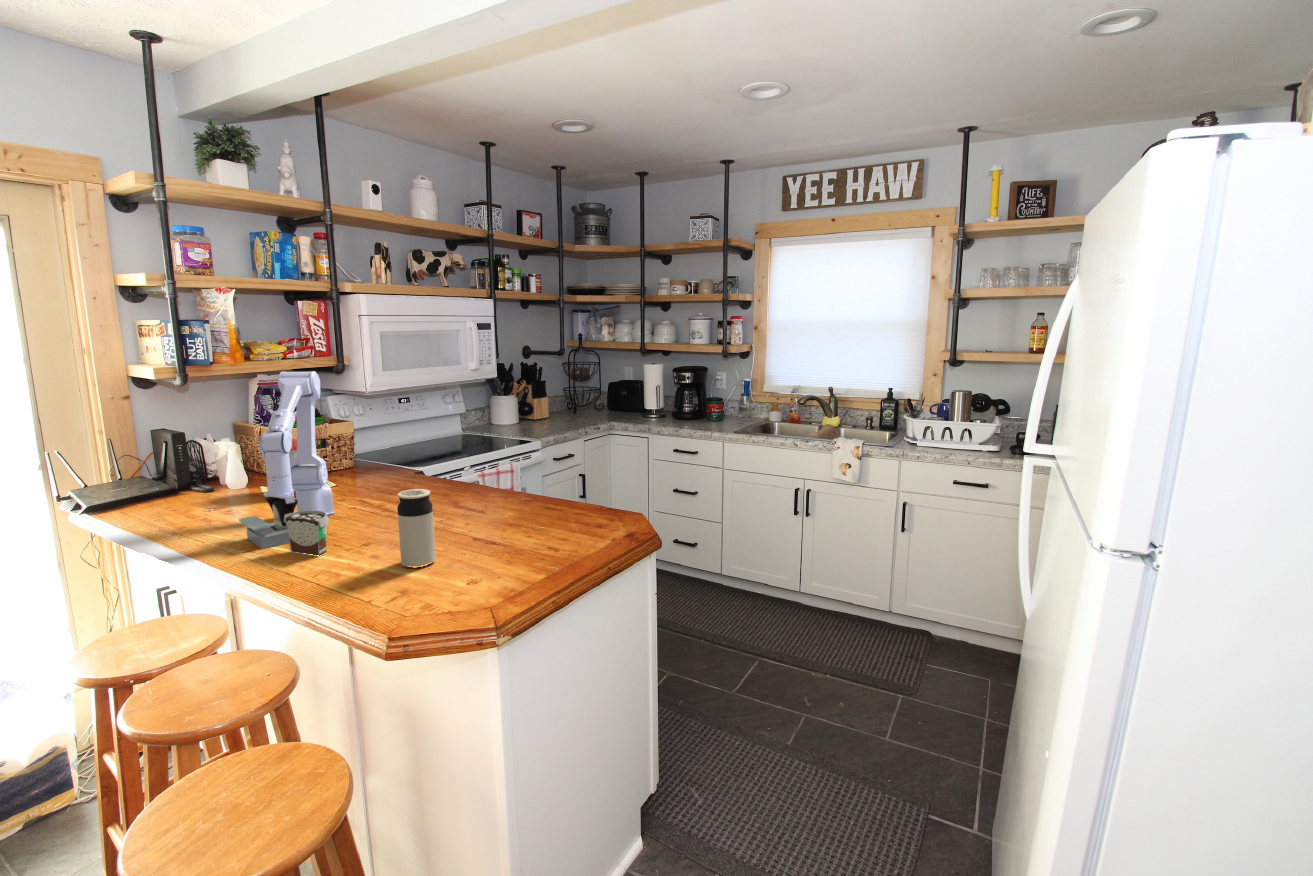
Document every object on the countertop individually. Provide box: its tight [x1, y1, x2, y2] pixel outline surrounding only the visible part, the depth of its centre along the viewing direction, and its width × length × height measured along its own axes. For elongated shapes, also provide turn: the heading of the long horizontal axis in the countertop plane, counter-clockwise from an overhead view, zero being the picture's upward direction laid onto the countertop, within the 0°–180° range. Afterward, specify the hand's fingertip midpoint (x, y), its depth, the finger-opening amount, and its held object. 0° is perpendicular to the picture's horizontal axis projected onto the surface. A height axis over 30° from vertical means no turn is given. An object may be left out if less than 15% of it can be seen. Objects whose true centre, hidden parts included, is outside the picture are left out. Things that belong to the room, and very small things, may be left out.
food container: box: [284, 511, 330, 557], centre depth 164 cm, size 12×6×10 cm, turn 71°
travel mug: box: [397, 488, 437, 567], centre depth 155 cm, size 8×8×18 cm
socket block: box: [238, 515, 290, 550], centre depth 173 cm, size 14×12×6 cm
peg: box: [272, 504, 287, 531], centre depth 174 cm, size 4×4×8 cm
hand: (284, 523), depth 175 cm, fingers closed on peg, 4 cm apart
